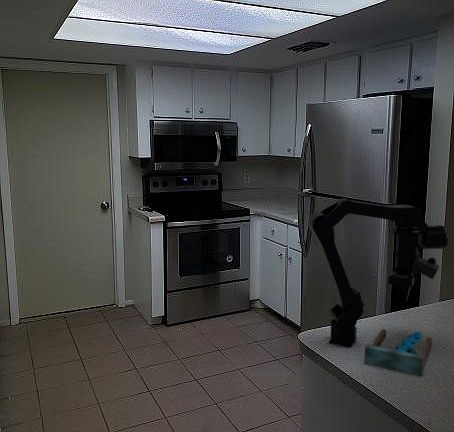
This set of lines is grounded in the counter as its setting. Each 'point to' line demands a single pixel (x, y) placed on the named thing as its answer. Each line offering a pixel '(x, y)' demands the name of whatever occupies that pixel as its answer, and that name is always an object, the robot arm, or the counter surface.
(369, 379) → the counter surface
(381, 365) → the guide channel
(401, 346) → the blue irregular piece
